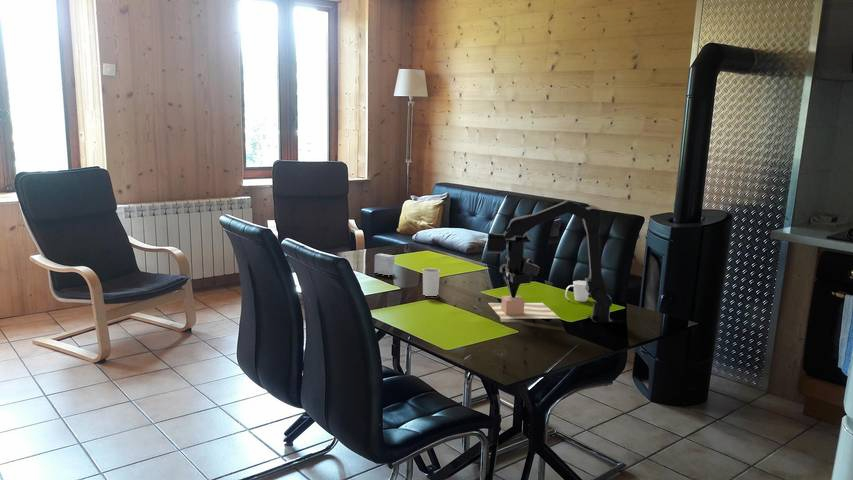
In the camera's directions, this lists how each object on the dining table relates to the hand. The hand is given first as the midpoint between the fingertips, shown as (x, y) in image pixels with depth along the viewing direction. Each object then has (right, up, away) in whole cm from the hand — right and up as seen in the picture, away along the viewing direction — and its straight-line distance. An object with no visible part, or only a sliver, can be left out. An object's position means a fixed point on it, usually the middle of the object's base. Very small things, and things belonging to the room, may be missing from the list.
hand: (513, 297), depth 238 cm
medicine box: (-49, +5, +58) cm, 76 cm away
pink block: (0, -5, +1) cm, 5 cm away
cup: (+27, -4, +21) cm, 35 cm away
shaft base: (+4, -6, +4) cm, 8 cm away
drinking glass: (-29, -1, +25) cm, 38 cm away
